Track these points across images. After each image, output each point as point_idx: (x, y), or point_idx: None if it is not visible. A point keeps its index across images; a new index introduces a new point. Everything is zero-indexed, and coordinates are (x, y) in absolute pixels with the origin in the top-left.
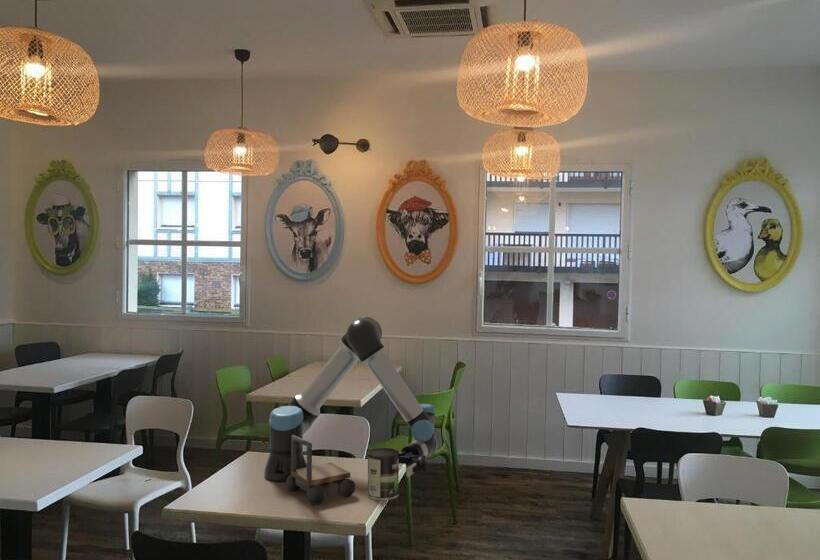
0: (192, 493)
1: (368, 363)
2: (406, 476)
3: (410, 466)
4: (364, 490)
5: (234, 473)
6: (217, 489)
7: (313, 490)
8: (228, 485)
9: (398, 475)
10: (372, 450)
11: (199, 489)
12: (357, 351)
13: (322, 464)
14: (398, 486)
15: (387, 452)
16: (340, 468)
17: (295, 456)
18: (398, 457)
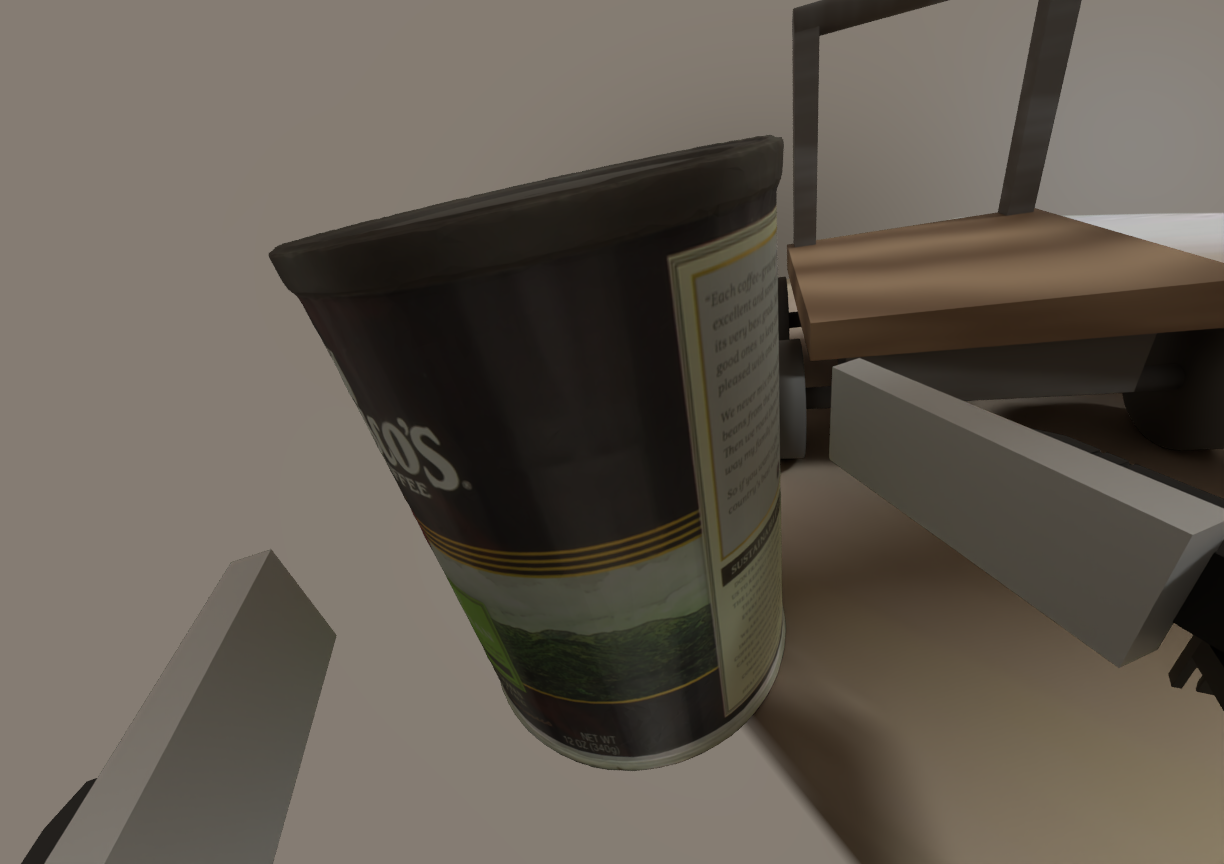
0: (1096, 216)
1: None
2: (333, 633)
3: (192, 660)
4: (847, 570)
5: None
6: (1139, 232)
7: None
8: (1208, 239)
9: (439, 562)
10: (721, 148)
11: (1151, 216)
12: None
13: (1183, 253)
14: (486, 654)
15: (478, 208)
16: (974, 301)
17: (1024, 113)
18: (317, 330)
